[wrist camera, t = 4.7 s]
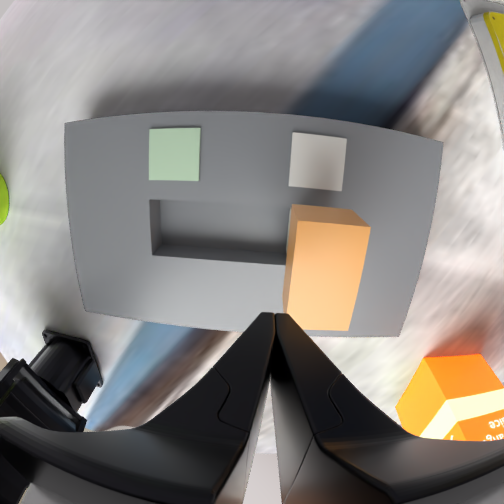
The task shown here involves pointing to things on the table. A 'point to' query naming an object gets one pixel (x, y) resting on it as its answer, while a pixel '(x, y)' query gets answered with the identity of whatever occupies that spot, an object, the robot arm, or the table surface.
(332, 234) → the lever
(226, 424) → the robot arm
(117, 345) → the table surface
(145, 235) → the breaker box
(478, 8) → the emergency button
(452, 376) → the orange juice
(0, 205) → the soap dispenser
